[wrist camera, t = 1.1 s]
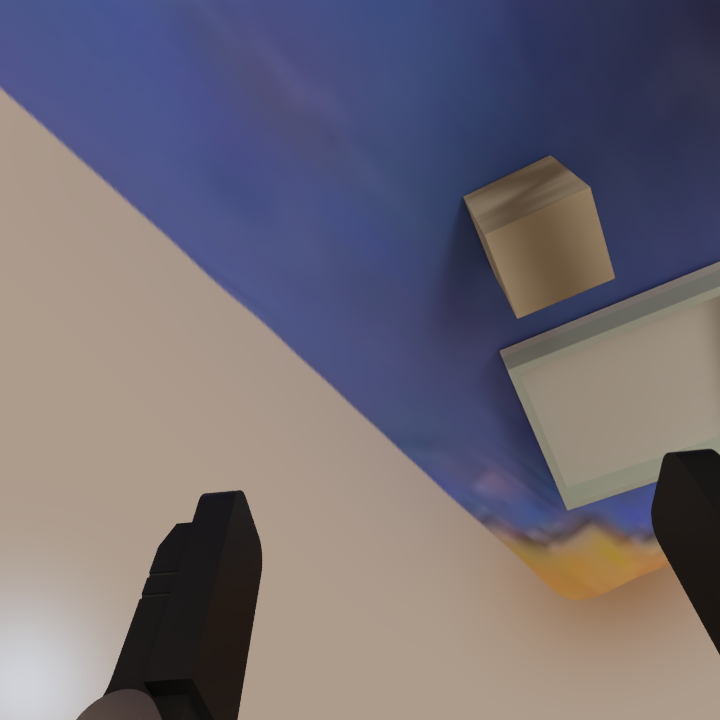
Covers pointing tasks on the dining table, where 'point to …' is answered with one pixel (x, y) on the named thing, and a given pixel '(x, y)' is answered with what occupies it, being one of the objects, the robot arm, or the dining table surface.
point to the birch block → (541, 235)
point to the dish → (624, 387)
